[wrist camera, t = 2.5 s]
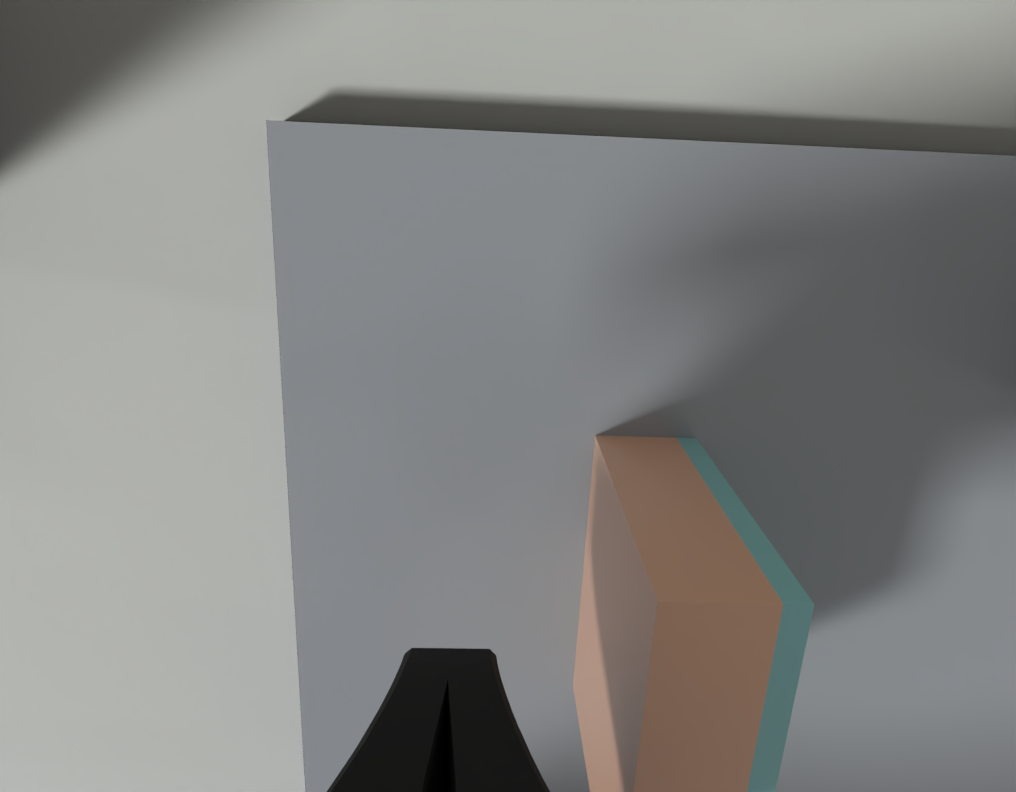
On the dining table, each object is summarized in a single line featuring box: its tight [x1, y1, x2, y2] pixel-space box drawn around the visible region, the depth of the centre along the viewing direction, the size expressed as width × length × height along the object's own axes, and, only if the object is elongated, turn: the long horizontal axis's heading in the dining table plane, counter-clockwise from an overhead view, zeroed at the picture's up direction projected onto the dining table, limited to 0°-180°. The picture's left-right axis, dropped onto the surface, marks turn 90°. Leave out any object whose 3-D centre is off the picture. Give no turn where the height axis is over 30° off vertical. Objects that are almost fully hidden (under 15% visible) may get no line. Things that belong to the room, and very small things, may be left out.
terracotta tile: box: [573, 435, 814, 792], centre depth 13 cm, size 6×2×6 cm, turn 177°
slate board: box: [266, 120, 1016, 792], centre depth 16 cm, size 15×18×1 cm
